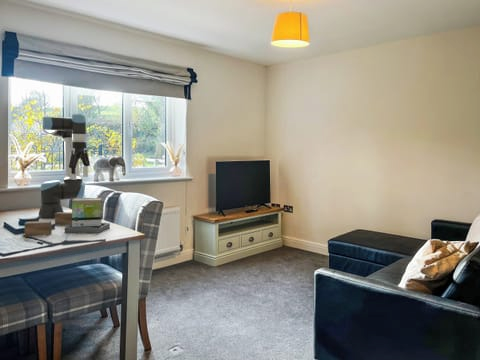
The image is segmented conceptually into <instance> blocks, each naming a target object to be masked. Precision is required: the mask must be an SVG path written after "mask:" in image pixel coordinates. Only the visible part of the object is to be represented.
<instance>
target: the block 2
mask: <svg viewBox="0 0 480 360" xmlns="http://www.w3.org/2000/svg"><path fill="white" fill-rule="evenodd" d="M54 225H56V226H69V225H72V211H71V212H70V211H68V212H67V211H66V212H65V211H64V212H57V213H55V218H54Z"/></svg>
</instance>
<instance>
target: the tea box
mask: <svg viewBox="0 0 480 360" xmlns="http://www.w3.org/2000/svg"><path fill="white" fill-rule="evenodd" d="M71 200H72V201H71V213H72V227H79V226H101V223H102V198H101V197H83V198H73V199H71Z"/></svg>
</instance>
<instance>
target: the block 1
mask: <svg viewBox="0 0 480 360" xmlns="http://www.w3.org/2000/svg"><path fill="white" fill-rule="evenodd" d="M23 225H24V237H27V238H28V237H40V236H41V237H45V236H46V237H47V236H51V235H52V233H53V232H52V228H53V227H52V220H46V221H45V220H44V221H39V220H38V221H26V222H24V223H23Z"/></svg>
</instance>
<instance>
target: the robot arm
mask: <svg viewBox="0 0 480 360" xmlns="http://www.w3.org/2000/svg"><path fill="white" fill-rule="evenodd" d="M41 130H42V132H43V133H44V134H45V135H48V136H51V137H56V138H57V137H58V138H61V140H62V141H63V142H64V161H65V177H64V179H63V182H62V181H61V180H59V179H57V180H49V181H44V182H42V183H40V203H41V204H40V208H39V212H38V218H40V219H55V213H57V212H65V211H64V209H63V206H62V201H63V200H64V201H66V200H68V201H69V200H73V198H84V196H85V191H86V183H85V181H83V178H89V167H90V165H91V163H90V158H89V154H88V149H87V116H86V115H85V114H81V113H73V114H71V117H61V116H60V117H59V116H58V117H57V116H56V117H55V116H43V117H42V118H41ZM80 160H81V162H82V165H83V166H82V176H83V178H81V175H80Z"/></svg>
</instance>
